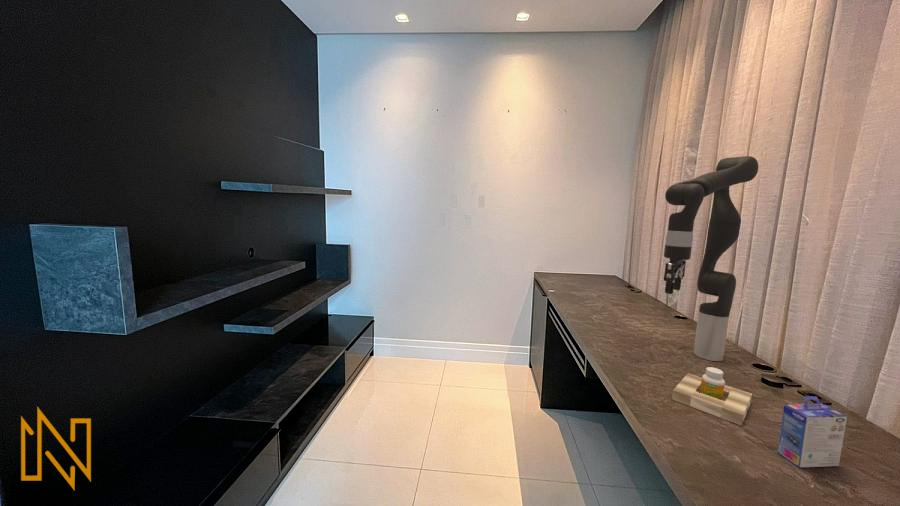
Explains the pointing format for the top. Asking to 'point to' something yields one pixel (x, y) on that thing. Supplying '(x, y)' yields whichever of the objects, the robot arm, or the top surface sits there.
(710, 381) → the supplement bottle
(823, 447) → the ink cartridge box
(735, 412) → the light wooden square frame
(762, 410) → the top surface
